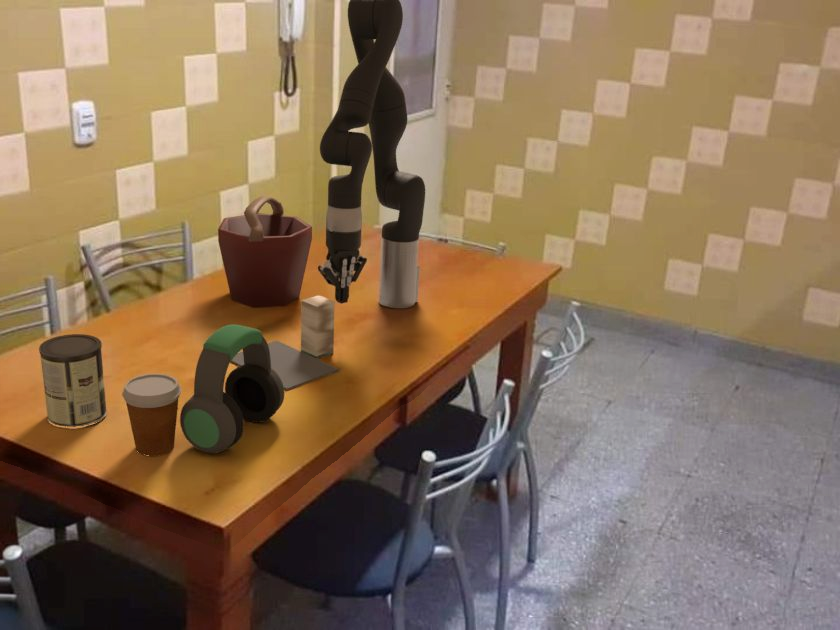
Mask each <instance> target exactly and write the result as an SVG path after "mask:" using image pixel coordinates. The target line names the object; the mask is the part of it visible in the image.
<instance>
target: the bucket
mask: <svg viewBox="0 0 840 630" xmlns="http://www.w3.org/2000/svg"><path fill="white" fill-rule="evenodd" d="M266 203H267V204H269V205H270V206H271V208H272V209H271V210H272V213H263V212H260V210H261V209H262V208H263V206H264V205H265V204H266ZM284 211H285V210H284V206H283V203H282V202H280V201H279V200H277V199H276V198H274V197H268V196H267V197H266V196H260V197H258V198H256V199H254V200H253V201H251V203H249V204H248V205H247V207H245V210H244V212H243V214H241V215H237V216H230V217H229V216H228V217H224V218H223V219H222V221H221V223H220V225H219V227H218V229H217V236H218V237H217V238H218V240H217V241H218V245H219V250H220V251H219V252H220V254H221V259H222V263H223V267H224V272H225V277H226V281H227V286H228V289H229V295H230V299H231V301H233V302H235V303H236V304H237V303H238V304H241V305H244V306H247V307H249V308H253V309H259V308H260V309H261V308H262V309H263V308H281V307H282V308H283V307H286V306H288V305H289V304H291V303H293V302H294V301H296V300H297V299H299V298H300V295H301V290H302V287H303V283H304V279H305V277H304V276H305V272H306V268H307V263H308V259H309V254H310V250H311V244H312V240H313V227H312V225H310V224H308V223H307V222H305V221H303V219H301V218H299V217H298V216H293V215H292V216H291V215H285V213H284Z"/></svg>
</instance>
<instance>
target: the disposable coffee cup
mask: <svg viewBox="0 0 840 630" xmlns="http://www.w3.org/2000/svg"><path fill="white" fill-rule="evenodd" d="M181 393H182V387H181V385H179V380H177V378H176V377H174V376H172V375H170V374H166V373H147V374H141V375H137V376H135V377H132V378H131V379H128V381H126V383H125V384H124V388H123V390H122V391H121V395H122V397H123V399H124V401H125V403H126V407H127V412H128V417H129V421H130V422H129V423H130V427H131V432H132V436H133V440H134V441H133V442H134V446H135V450H137V451H138V452H139V453H141V454H145V455H149V456H148V457H159V456H158V455H160V456H163V454H164V455H167V454H168V453H170V452H171V451H172V450H173V449H174V448H175V439H176V438H175V437H176V429H177V420H178V419H177V418H178V410H179V409H178V407H179V398H180V395H181ZM137 451H136V452H137ZM138 452H137V453H138ZM139 453H138V454H139ZM141 454H140V455H141Z"/></svg>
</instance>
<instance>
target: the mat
mask: <svg viewBox="0 0 840 630" xmlns="http://www.w3.org/2000/svg"><path fill="white" fill-rule="evenodd" d="M267 344H268V347H269V351H270V359H271V368H272V369H273V370H274V371H275V372H276V373H277V374H278V375H279V377H280V378H281V381H282V383H283V387H284V391H289V390H292V389H294V388H298V387H299V386H302V385H305V384H307V383H310V382H313V381H316V380H318V379H321V378H323V377H326V376H328V375H331V374H333V373H336V372H339V368H337V367H335V366H333V365H331V364H329V363H327V362H326V361H325V362H324V361H322V360H320V359H319V358H318V359H316V358H314V357H312V356H310V355H307V354H305V353H303V352H301V350H298V349H297V348H294V347H292V346H290V345H287V344H285V343H284V342H281V341H280V340H274V341H271V342H267ZM230 363H233V364H234V365H236V366H237V367H239V366H242V365H244V356H243V351H239V352H238V353H237V354H236V355H235V357H234V358H233V359H232V361H231V362H230Z"/></svg>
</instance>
